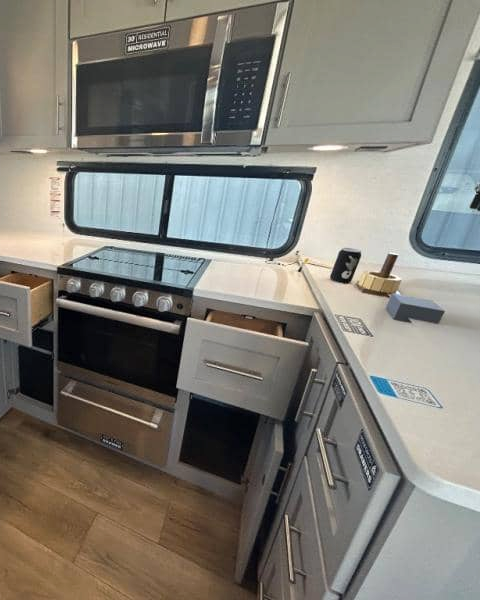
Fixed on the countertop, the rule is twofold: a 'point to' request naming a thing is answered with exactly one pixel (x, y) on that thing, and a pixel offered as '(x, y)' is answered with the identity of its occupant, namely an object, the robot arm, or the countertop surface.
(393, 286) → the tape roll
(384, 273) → the stand
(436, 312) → the block
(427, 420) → the countertop surface
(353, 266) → the black printed box
